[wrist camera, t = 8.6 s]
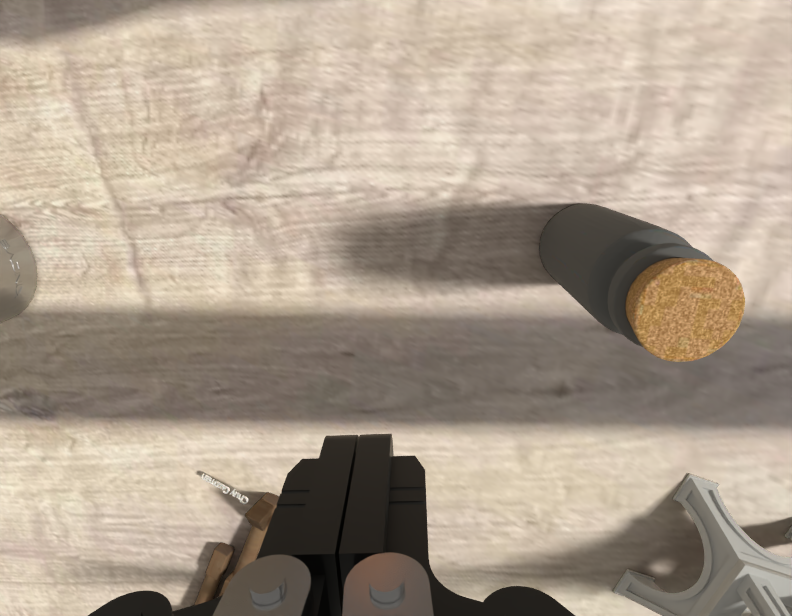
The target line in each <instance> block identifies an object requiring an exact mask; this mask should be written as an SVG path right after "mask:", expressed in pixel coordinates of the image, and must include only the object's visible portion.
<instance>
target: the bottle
mask: <svg viewBox="0 0 792 616" xmlns="http://www.w3.org/2000/svg"><path fill="white" fill-rule="evenodd" d="M539 251H540V257H541V260H542V263H543V265H544V267H545V268H546V270H547V271H548V272H549V274H550V275H551V276H552V277H553V278H554V279H555V280H556V281H557V282H558V283H559V284H560V285H561V286H562V287H563V288H564V289H565V290H566V291H567V292H568V293H569V294H570V295H571V296H572V297H574V298H575V299H576V300H577V301H578V302H579V303H580V304H581V305H582V306H583V307H584V308H585V309H586V310H587V311H588V312H589V313H590V314H591V315H592V316H593V317H594V318H595V319H596V320H597V321H599V322H600V323H601V324H602V325H604V326H605V327H607V328H608V329H610V330H612V331H614V332H616V333H619V334H622V335H624V336H625V337H626V338H627V339H629V340H630V341H632V342H633V343H635V344H637V345H639V346H642V347H644V348H645V349H646V350H647V351H649V352H650V353H651V354H653V355H654V356H656V357H658V358H661V359H664V360H667V361H674V362H684V361H693V360H697V359H700V358H703V357H705V356H708V355H709V354H711V353H713V352H714V351H716V350H718V349H719V348H721V347H722V346H723V345H724V344H725V343H726V342H727V341H728V340H729V339H730V338H731V337H732V336H733V334H734V333H735V332H736V330H737V328H738V327H739V325H740V322H741V319H742V317H743V314H744V307H745V297H744V292H743V288H742V285H741V283H740V281H739V280H738V278H737V277H736V275H735V274H734V273H733V272H732V271H731V270H730V269H728V268H727V267H725V266H724V265H722V264H720V263H717V262H714V261H713V260H712V259H711V258H710V257H709V256H708V255H706V254H705V253H703V252H701V251H699V250H697V249H695V248H693V247H692V246H691V245H690V244H689V243H688V242H687V241H686V240H685V239H684V238H682V237H681V236H679V235H678V234H675V233H673V232H671V231H668V230H666V229H663V228H661V227H659V226H656V225H653V224H650V223H648V222H645V221H642V220H639V219H636V218H633V217H631V216H628V215H625V214H622V213H619V212H616V211H613V210H611V209H608V208H605V207H602V206H598V205H594V204H577V205H573V206H570V207H567V208H565V209H563V210H561V211H560V212H558V213H557V214H556V215H555V216H554V217H553V218H552V219H551V220H550V221H549V222H548V224H547V225H546V227H545V228H544V230H543V232H542V235H541V239H540V245H539Z"/></svg>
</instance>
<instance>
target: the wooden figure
mask: <svg viewBox="0 0 792 616" xmlns="http://www.w3.org/2000/svg"><path fill="white" fill-rule="evenodd" d="M201 479H204V480H205V479H206V482H209V483H210V484H212V485H214V486H215V487H217V488H219V489H220V488H221V487H222V486H223V487H222V490H223V489H224V490H225V489H226V488H227V492H226V491H223V493H225V494H227V493H228V492H229V491H230V488H229V487H228V486H225V485H224V484H221V483H220V482H218V481H217V480H216V481H215V482H214V480H215V479H213V480H212V478H211V477H210V476H208V475H205V477H204V473H203V474H202V477H201ZM211 480H212V482H211ZM213 482H214V483H213ZM216 483H218V484H216ZM218 485H220V486H218ZM235 490H236V489H234V490H233V491H232V492H231V493H230V494H232V496H233V497H235V496H236V494H237V497H236V498H238V499H239V500H240V503H243V504H246V503H247V502H248V498H247V497H246V496H244V495H243V496H242V497H241V494H240V495H239V492H237V491H236V492H235ZM240 497H241V498H240ZM243 498H245V499H246V502H244V501H242V500H243ZM278 499H279V496H277V495H274V494H272V493H269V492H267V493H266V494H265V495H264V496H263V497H262V498H261V499H260V500H259V501H258V502H257V503H256V504H255V505H254V506H253V507H252V508H251V509H250V510H249V511H248V512H247V513H246V514H245V516H246V518H247V519H248V521H249V523H250V524H251V525H252V527H251V530H250V533H249V535H248V538H247V540H246V543H245V545H244V548H243V550H242V553H241V555H240V558H239V560H238V563H237V565H236V568H235V569H234V571H233V572H232V573H231V574H230V575H229V576H228V577H227V579H226V580H225V582H224V584H223V587H222V590H221V592H220V595H219V597H220V596H222V595H223V594H224V592H225V590H226V588H227V586H228V584H229V582H230V581H231V579H232V578H233V577H234V575H235V574H236V573H237V572H238V571H239V570H240V569H242V568H243V567H244V566H246V565H247V564H249V563H251V562H253V561H254V560H256V557H257V555H258V552H259V550H260V547H261V545H262V542H263V540H264V537H265V534H266V532H267V529H268V526H269V523H270V521H271V518H272V515H273V513H274V510H275V508H276V507H277V505H276V504H277V502H278ZM233 552H234V548H233V547H232V546H230V545H228V544H225V543H220V544H219V545H218V546H217V547H216V548H215V550H214V552H213V554H212V557H211V560H210V562H209V565H208V567H207V570H206V576H205V579H204V581H203V584H202V586H201V589H200V592H199V594H198V597H197V599H196V602H195V605H197V604H201V603H204V602H207V601H210V600H213V598H214V595H215V592H216V590H217V587H218V585H219V582H220V580H221V577H222V575H223V574H224V573H225V572H226V570H227V567H228V565H229V562H230V559H231V557H232V554H233Z"/></svg>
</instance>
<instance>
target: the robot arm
mask: <svg viewBox="0 0 792 616" xmlns="http://www.w3.org/2000/svg"><path fill="white" fill-rule="evenodd" d="M36 287H37V269H36V262H35V259H34V257H33V254H32V251H31V249H30V247H29V245H28V244H27V242H26V240H25V238H24V237H23V235H22V234H21V233H20V232H19V231H18V230H17V228H16V227H15V226H14V225H13V224H12V223H11V222H9V221H8V220H7V219H6V218H5V217H3V216H2V215H1V214H0V323H2V322H4V321H7V320H9V319H11V318H13V317H15V316H17V315H19V314H20V313H21V312H22V311H23V310H24V309H25V308H27V306H28V305H29V303H30V302H31V300H32V299H33V297H34V293H35V290H36ZM276 505H277V507H276V508H275V510H274V513H273V515H272V518H271V521H270V523H269V526H268V529H267V532H266V534H265V537H264V540H263V542H262V545H261V548H260V551H259V553H258V556H257V559H256V560H254V561H253V562H251V563H249V564H247V565H246V566H244V567H243V568H242V569H240V570H239V571H238V572H237V573H236V574H235V575H234V577H233V578H232V579H231V581H230V582H229V584H228V586H227V588H226V590H225V592H224V594H223V595H222V596H220V597H218V598H216V599H213V600H210V601H207V602H204V603H201V604H197V605H194V606H190V607H187V608H184V609H180V610H177V611H173V612H172V608H171V605H170V602H169V601H168V599H167V598H166V597H165V596H164V595H162V594H160V593H158V592H154V591H137V592H133V593H128V594H126V595H123V596H120V597H118V598H116V599H114V600H112V601H110V602H108V603H107V604H105V605H103V606H102V607H100V608H99V609H97V610H96V611H94V612H93V613H91V614H90V615H88V616H575V615H574V614H572V613H571V612H570V611H569V610H567V609H566V608H565V607H564V606H562V605H561V604H560V603H559V602H557V601H556V600H555V599H553V598H552V597H550V596H549V595H547V594H545V593H543V592H541V591H539V590H536V589H533V588H529V587H522V586H511V587H506V588H502V589H499V590H497V591H495V592H493V593H492V594H490V595H489V596H488V597H487V598H486V599H485V600H484V602H480V601H476V600H473V599H469V598H466V597H463V596H460V595H457V594H455V593H454V592H452V591H450V590H448V589H447V588H446V587H444V586H443V585H442V584H441V583H440V582H439V581H438V580H437V579H436V577H435V576H434V574H433V572H432V571H431V568H430V565H429V559H428V535H427V510H426V485H425V469H424V468H423V467H422V465H421V464H420V462H419V461H418V459H417V458H416V457H415V456H393V441H392V434H370V435H360V436H359V437H358V435H340V436H326V437H325V439H324V443H323V446H322V450H321V453H320V457H319V459H302V460H301V461H300V462H299V463H298V464H297V465H296V466H295V467H294V468H293V469H292V470H291V471H290V472H289V473H288V475H287V477H286V480H285V483H284V485H283V488H282V494H280V496H279V499H278V502H277V504H276Z"/></svg>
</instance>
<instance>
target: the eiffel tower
mask: <svg viewBox="0 0 792 616" xmlns="http://www.w3.org/2000/svg"><path fill="white" fill-rule="evenodd" d="M718 486H719V484H718V483H716V482H713V481H710V480H707V479H704V478H701V477H698V476H696V475H693V474H690V473H689V474H688V475H687V477H686V478H685V480H684V481H683V483H682V484H681V486H680V488H679V489H678V491H677V492H676V494H675V495H674V497H673V498H672V499H673V500H674V501H677V502H680V503H681V504H682V505H683V507H684V508H685V509H686V510H687V512H688V513H689V514H690V516H691V517H692V519H693V521H694V523H695V524H696V526H697V528H698V531H699V533H700V536H701V539H702V543H703V548H704V567H703V571H702V574H701V576H700V578H699V580H698V581H697V582H696V583H695V584H694V585H693V586H692V587H691V588H689V589H688V590H685V591H682V592H678V593H667V592H665V591H664V590H662V589H661V588H659V587H658V586H657V585H656V584H655V583H654V581H655V578H654V577H651V576H648V575H645V574H641V573H638V572H635V571H632V570H629V569H627V570H626V571H625V573H624V574H623V576H622V577H621V579H620V580H619V582H618V584H617V585H616V587H615V588H614V590H613V592H614V593H616V594H619V595H622V596H625V597H627V598H629V599H631V600H633V601H635V602H637V603H639V604H641V605H643V606H645V607H646V608H648V609H650V610H652V611H654V612H656V613H658V614H660V615H662V616H792V557H782V556H778V555H776V554H773V553H771V552H769V551H767V550H765V549H764V548H762V547H761V546H759V545H758V544H757V543H756V542H754V541H753V540H752V539H751V538H750V537H749V536H748V535H747V534H746V533H745V532H744V531H743V530H742V529H741V528H740V527H739V525H738V524H737V523H736V522H735V520H734V519H733V518H732V516H731V515H730V513H729V512H728V510H727V508H726V507H725V505H724V503H723V501H722V499H721V497H720V495H719V492H718V490H717V487H718ZM784 536H785V537H786V538H789V539H791V541H792V526H791V527H790V529H789V530H788V531H787V533H786V534H785V535H784Z"/></svg>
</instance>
